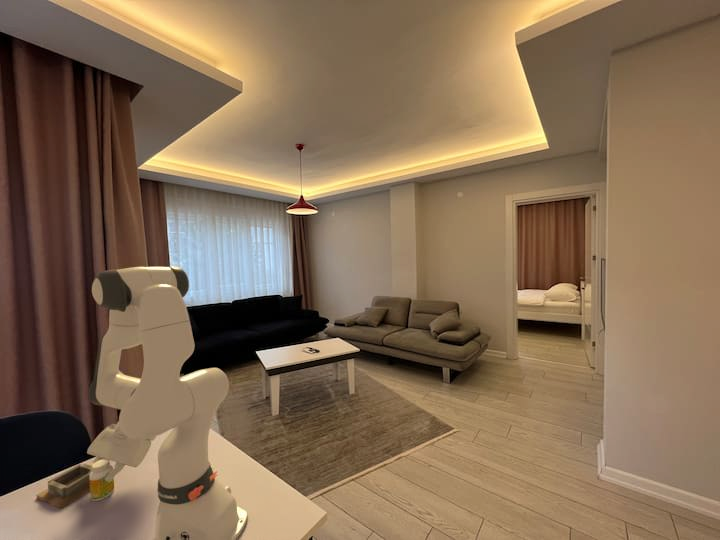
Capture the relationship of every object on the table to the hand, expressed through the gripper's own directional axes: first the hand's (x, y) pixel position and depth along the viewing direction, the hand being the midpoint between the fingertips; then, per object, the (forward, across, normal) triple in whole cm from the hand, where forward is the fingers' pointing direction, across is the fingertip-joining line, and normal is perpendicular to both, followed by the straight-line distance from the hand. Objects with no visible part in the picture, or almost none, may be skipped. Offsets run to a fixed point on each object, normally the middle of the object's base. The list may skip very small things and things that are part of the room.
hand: (99, 478), depth 88 cm
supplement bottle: (+4, 0, +4) cm, 6 cm away
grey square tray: (+4, -12, +4) cm, 13 cm away
